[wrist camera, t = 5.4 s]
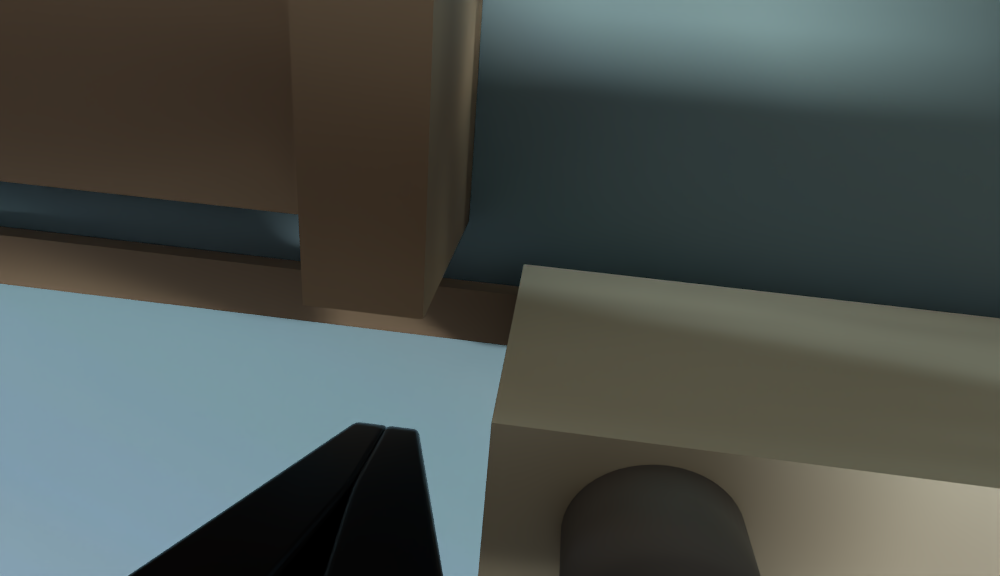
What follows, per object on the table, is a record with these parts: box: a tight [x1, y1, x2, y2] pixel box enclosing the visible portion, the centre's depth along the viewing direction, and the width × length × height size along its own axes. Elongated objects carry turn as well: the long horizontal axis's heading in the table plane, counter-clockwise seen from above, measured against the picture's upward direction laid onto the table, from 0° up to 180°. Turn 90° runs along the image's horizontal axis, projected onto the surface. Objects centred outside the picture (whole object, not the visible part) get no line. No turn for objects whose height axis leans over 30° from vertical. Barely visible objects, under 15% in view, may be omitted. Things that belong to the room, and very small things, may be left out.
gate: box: [478, 264, 1000, 576], centre depth 7 cm, size 2×9×4 cm, turn 85°
